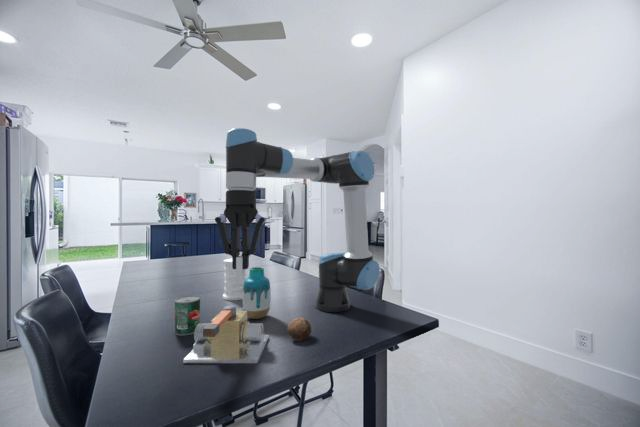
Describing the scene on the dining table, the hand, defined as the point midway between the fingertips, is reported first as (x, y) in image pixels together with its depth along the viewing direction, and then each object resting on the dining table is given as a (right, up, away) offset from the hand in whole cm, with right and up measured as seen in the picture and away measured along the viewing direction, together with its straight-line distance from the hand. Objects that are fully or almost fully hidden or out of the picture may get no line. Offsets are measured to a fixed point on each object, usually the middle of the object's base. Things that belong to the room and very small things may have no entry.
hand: (240, 281), depth 70 cm
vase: (-4, -23, +36) cm, 43 cm away
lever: (-6, -13, +4) cm, 15 cm away
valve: (-6, -23, +11) cm, 26 cm away
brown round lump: (+14, -23, +18) cm, 33 cm away
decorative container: (-21, -23, +63) cm, 70 cm away
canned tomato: (-25, -23, +24) cm, 42 cm away
